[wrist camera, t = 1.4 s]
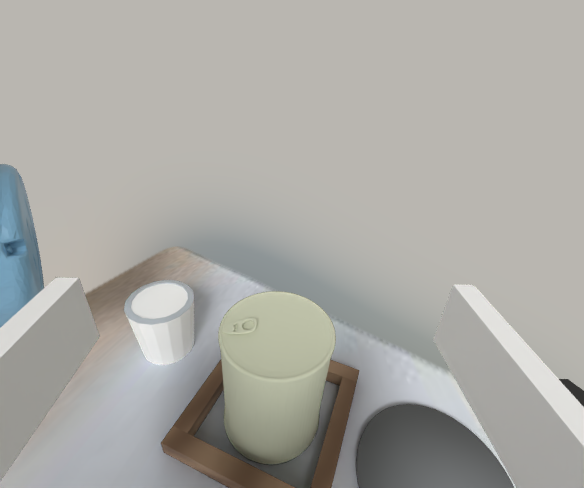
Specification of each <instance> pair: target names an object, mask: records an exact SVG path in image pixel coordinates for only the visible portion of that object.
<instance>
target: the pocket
mask: <svg viewBox="0 0 584 488" xmlns="http://www.w3.org/2000/svg"><path fill="white" fill-rule="evenodd" d="M358 375H359V370H357V369H354V368H352V367H349V366H346V365H343V364H341V363H338V362H335V361H333V360H330V364H329V368H328V373H327V377H326V381H329V382H331V383H334V384H337V385H339V386H340V387H339V391H338V394H337V397H336V401H335V404H334V408H333V411H332V415H331V418H330V422H329V425H328V428H327V432H326V435H325V439H324V442H323V446H322V449H321V453H320V456H319V460H318V463H317V466H316V470H315V473H314V477H313V480H312V484H311V487H310V488H331V487H332V483H333V478H334V474H335V470H336V466H337V462H338V458H339V454H340V449H341V445H342V441H343V437H344V433H345V429H346V424H347V420H348V416H349V412H350V408H351V404H352V399H353V395H354V391H355V387H356V383H357V379H358ZM223 390H224V386H223V373H222V361H221V360H220V361H219V363H218V364H217V366H216V367H215V368H214V370H213V371H212V373H211V374H210V375H209V377H208V378H207V379H206V381H205V382H204V384H203V385H202V386H201V388H200V389H199V391H198V392H197V393H196V395H195V396H194V398H193V399H192V400H191V402H190V403H189V404H188V406H187V407H186V409H185V410H184V411H183V413H182V414H181V416H180V417H179V418H178V420H177V421H176V423H175V424H174V425H173V427H172V428H171V429H170V431H169V432H168V434H167V435H166V436H165V438H164V439H163V441H162V442H161V445H162V448H163V452H164V453H166V454H168V455H169V456H171V457H173V458H175V459H177V460H179V461H181V462H182V463H184V464H186V465H188V466H190V467H192V468H194V469H195V470H197V471H199V472H201V473H203V474H205V475H207V476H208V477H210V478H212V479H214V480H216V481H218V482H220V483H221V484H223V485H225V486H227V487H229V488H295V487H293V486H291V485H289V484H287V483H285V482H283V481H281V480H279V479H277V478H275V477H273V476H271V475H269V474H267V473H265V472H263V471H261V470H259V469H257V468H256V467H254V466H252V465H250V464H248V463H246V462H244V461H242V460H240V459H238V458H236V457H234V456H232V455H230V454H228V453H226V452H224V451H222V450H220V449H218V448H216V447H214V446H212V445H210V444H208V443H206V442H204V441H202V440H200V439H198V438H196V437H194V435H195V433H196V432H197V430H198V428H199V427H200V425H201V424H202V422H203V421H204V419H205V418H206V416H207V415H208V413H209V411H210V410H211V408H212V407H213V405H214V404H215V402H216V401H217V399H218V397H219V396H220V394H221V393H222V391H223Z"/></svg>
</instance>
